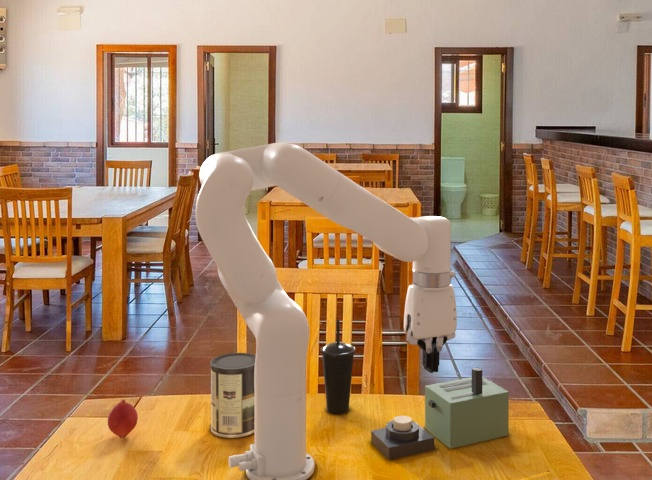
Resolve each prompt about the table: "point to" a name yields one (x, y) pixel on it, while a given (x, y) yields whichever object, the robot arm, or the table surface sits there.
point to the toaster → (466, 412)
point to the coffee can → (233, 395)
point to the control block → (402, 441)
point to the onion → (122, 419)
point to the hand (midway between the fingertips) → (430, 370)
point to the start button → (402, 423)
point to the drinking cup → (337, 373)
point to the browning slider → (476, 380)
